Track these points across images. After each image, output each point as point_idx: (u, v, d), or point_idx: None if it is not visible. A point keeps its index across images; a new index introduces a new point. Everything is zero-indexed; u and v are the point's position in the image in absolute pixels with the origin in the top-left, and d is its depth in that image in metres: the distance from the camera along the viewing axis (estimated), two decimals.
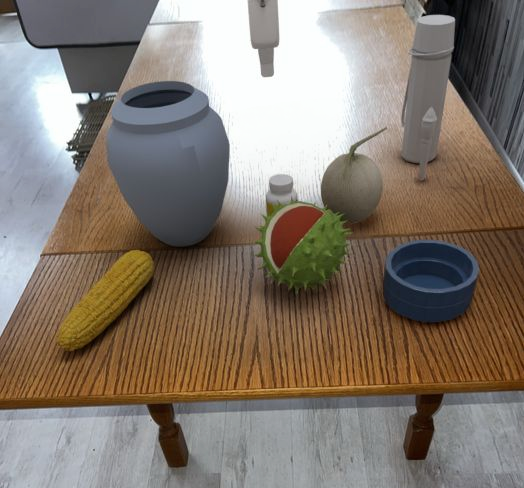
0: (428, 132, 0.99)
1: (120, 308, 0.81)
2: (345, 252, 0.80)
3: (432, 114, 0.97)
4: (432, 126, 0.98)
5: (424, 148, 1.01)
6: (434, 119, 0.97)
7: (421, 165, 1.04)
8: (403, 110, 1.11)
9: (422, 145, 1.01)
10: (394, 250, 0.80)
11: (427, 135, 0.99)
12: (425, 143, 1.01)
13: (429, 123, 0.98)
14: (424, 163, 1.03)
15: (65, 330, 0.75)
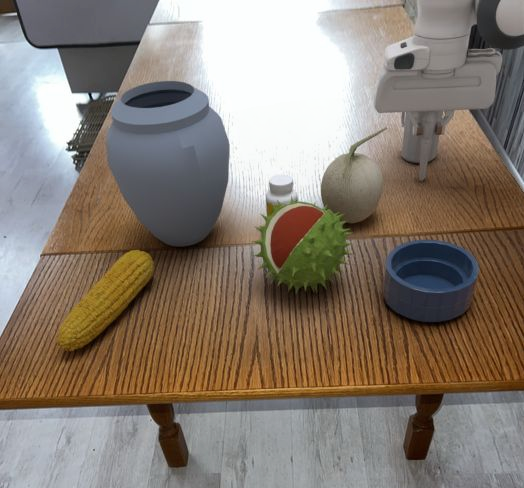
0: (428, 132, 0.99)
1: (120, 308, 0.81)
2: (345, 252, 0.80)
3: (433, 115, 0.97)
4: (432, 126, 0.98)
5: (425, 148, 1.01)
6: (434, 119, 0.97)
7: (421, 165, 1.04)
8: None
9: (422, 145, 1.01)
10: (394, 250, 0.80)
11: (427, 135, 0.99)
12: (425, 143, 1.01)
13: (429, 123, 0.98)
14: (424, 163, 1.03)
15: (65, 330, 0.75)
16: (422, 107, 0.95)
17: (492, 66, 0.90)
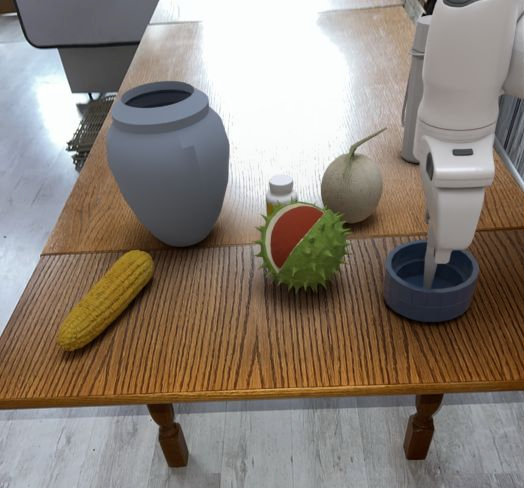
0: None
1: (120, 308, 0.81)
2: (345, 252, 0.80)
3: None
4: None
5: None
6: None
7: (433, 276, 0.78)
8: (403, 110, 1.11)
9: None
10: (394, 250, 0.80)
11: None
12: None
13: None
14: None
15: (65, 330, 0.75)
16: None
17: None
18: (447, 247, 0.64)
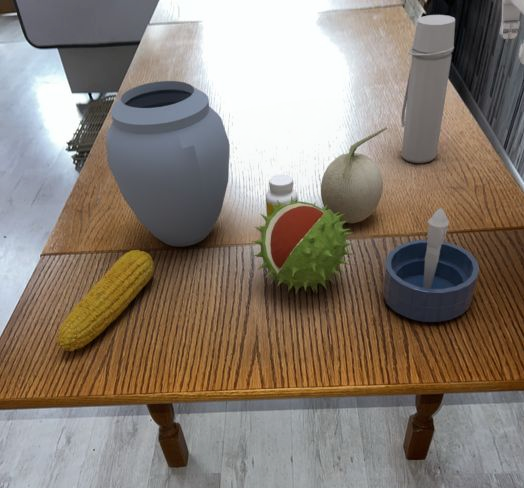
0: None
1: (120, 308, 0.81)
2: (345, 252, 0.80)
3: (445, 214, 0.72)
4: None
5: (438, 255, 0.76)
6: None
7: (433, 276, 0.78)
8: (403, 110, 1.11)
9: (437, 254, 0.75)
10: (394, 250, 0.80)
11: None
12: (439, 250, 0.75)
13: None
14: None
15: (65, 330, 0.75)
16: None
17: None
18: None
